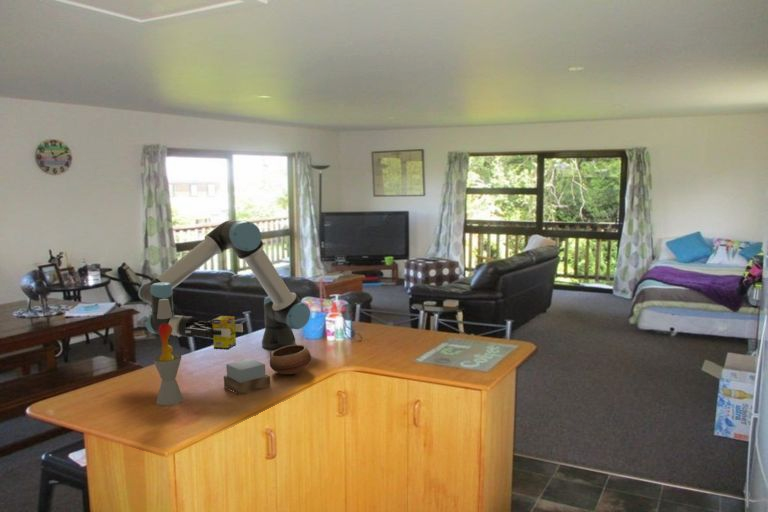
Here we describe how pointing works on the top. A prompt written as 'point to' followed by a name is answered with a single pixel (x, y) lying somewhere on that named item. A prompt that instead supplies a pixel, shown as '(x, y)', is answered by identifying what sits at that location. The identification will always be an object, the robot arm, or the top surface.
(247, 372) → the tower top block
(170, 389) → the lava lamp
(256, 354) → the top surface
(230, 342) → the supplement box
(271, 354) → the bowl
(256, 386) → the tower base slab
